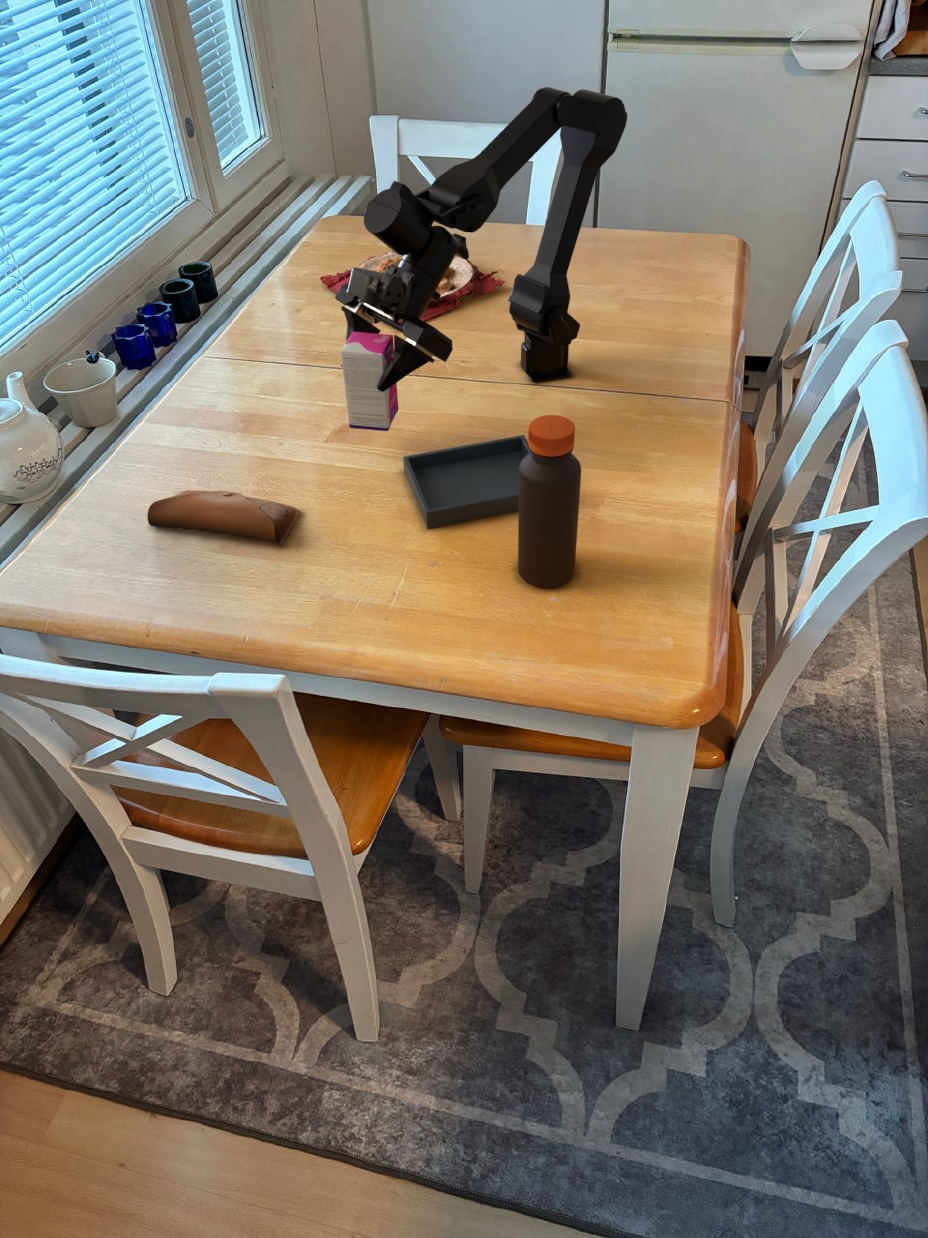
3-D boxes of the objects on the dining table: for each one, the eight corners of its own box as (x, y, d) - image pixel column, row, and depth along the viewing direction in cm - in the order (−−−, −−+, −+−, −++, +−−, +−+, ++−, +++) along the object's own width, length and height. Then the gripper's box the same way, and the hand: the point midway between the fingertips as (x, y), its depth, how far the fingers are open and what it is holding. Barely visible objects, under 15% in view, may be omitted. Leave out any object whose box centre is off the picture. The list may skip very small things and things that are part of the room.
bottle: (581, 584, 111) (592, 438, 98) (526, 594, 110) (529, 448, 97) (565, 549, 116) (573, 405, 102) (511, 558, 115) (512, 414, 102)
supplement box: (390, 432, 127) (381, 354, 120) (348, 428, 128) (337, 351, 121) (401, 409, 132) (393, 332, 124) (360, 406, 133) (350, 330, 125)
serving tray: (523, 450, 132) (523, 434, 131) (555, 504, 123) (556, 487, 121) (404, 472, 129) (402, 456, 128) (427, 529, 120) (426, 512, 118)
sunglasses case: (303, 506, 123) (286, 484, 117) (290, 556, 122) (273, 537, 115) (178, 490, 127) (155, 469, 121) (164, 539, 125) (140, 519, 119)
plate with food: (422, 249, 185) (421, 232, 183) (506, 288, 170) (505, 269, 167) (319, 286, 175) (316, 267, 173) (397, 330, 160) (395, 311, 157)
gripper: (337, 220, 121) (279, 330, 124) (428, 263, 110) (363, 381, 113) (391, 262, 130) (336, 363, 133) (481, 305, 119) (419, 414, 122)
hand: (361, 379), depth 125 cm, fingers closed on supplement box, 7 cm apart
